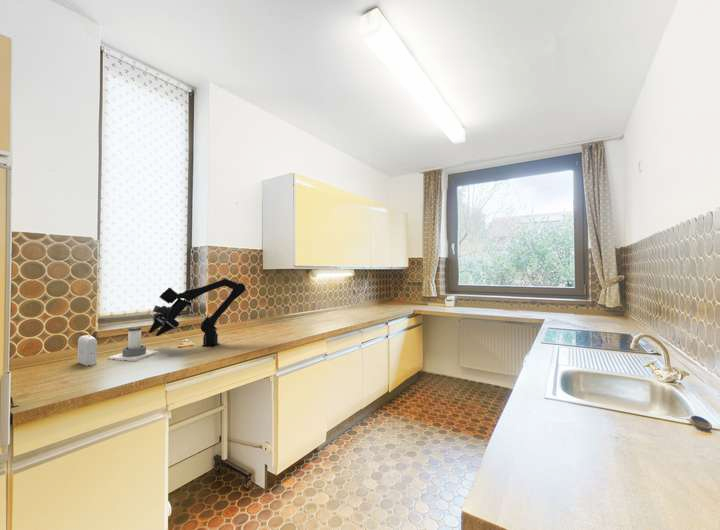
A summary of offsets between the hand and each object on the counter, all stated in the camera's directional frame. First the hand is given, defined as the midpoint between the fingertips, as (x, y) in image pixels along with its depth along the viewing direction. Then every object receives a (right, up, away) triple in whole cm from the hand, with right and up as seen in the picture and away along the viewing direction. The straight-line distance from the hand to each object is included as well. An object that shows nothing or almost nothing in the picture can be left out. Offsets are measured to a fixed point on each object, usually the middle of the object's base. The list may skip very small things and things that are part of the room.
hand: (152, 334), depth 158 cm
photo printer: (-17, -9, -18) cm, 27 cm away
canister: (-5, -8, -6) cm, 11 cm away
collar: (-5, -9, -6) cm, 12 cm away
